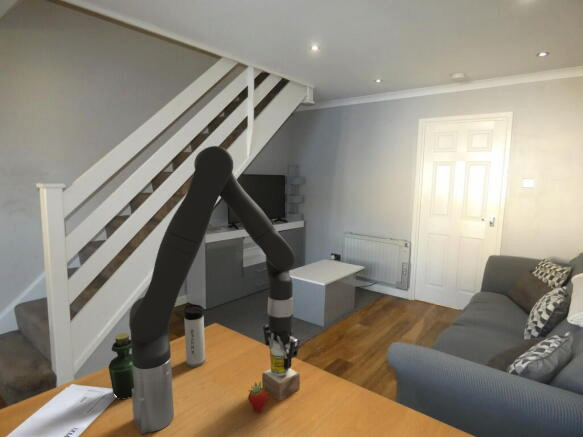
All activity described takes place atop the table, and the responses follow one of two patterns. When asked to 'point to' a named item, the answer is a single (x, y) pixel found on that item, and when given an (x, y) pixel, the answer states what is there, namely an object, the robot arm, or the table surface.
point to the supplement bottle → (277, 360)
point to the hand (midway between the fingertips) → (280, 364)
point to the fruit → (258, 397)
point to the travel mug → (194, 335)
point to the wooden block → (281, 383)
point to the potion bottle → (122, 367)
